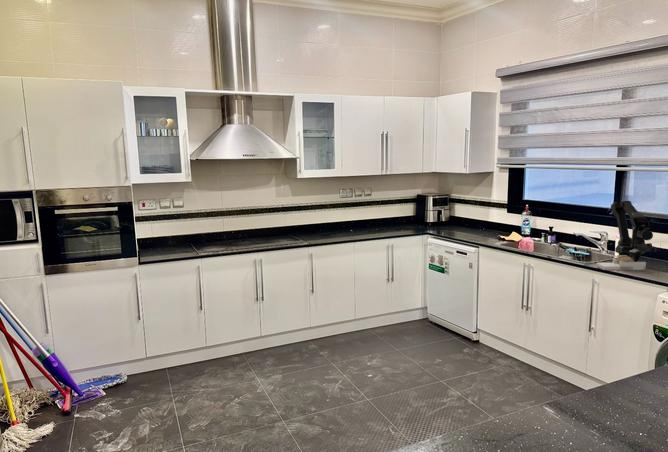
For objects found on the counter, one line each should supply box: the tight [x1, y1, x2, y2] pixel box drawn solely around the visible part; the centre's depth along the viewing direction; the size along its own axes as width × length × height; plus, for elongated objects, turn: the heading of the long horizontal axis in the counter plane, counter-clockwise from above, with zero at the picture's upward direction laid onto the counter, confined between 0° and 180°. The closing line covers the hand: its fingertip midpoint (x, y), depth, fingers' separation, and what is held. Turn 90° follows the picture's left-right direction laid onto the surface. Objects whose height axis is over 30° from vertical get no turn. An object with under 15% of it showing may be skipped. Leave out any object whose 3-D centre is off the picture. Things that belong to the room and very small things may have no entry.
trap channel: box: [596, 258, 647, 271], centre depth 271 cm, size 9×23×4 cm, turn 84°
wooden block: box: [616, 254, 632, 264], centre depth 270 cm, size 5×5×5 cm
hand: (635, 262), depth 270 cm, fingers closed
